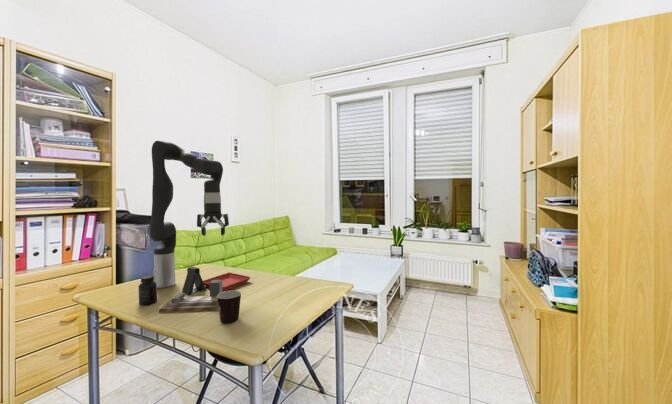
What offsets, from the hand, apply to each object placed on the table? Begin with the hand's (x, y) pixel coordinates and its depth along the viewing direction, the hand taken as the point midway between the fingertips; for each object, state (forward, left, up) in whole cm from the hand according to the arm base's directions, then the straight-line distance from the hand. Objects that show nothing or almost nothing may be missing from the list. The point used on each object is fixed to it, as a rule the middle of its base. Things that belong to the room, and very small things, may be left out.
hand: (213, 235), depth 138 cm
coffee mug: (+16, -33, -28) cm, 46 cm away
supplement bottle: (-25, -11, -28) cm, 39 cm away
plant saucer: (+2, +12, -29) cm, 31 cm away
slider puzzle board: (-1, -15, -28) cm, 32 cm away
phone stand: (-11, +3, -28) cm, 31 cm away
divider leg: (+6, -16, -26) cm, 31 cm away
